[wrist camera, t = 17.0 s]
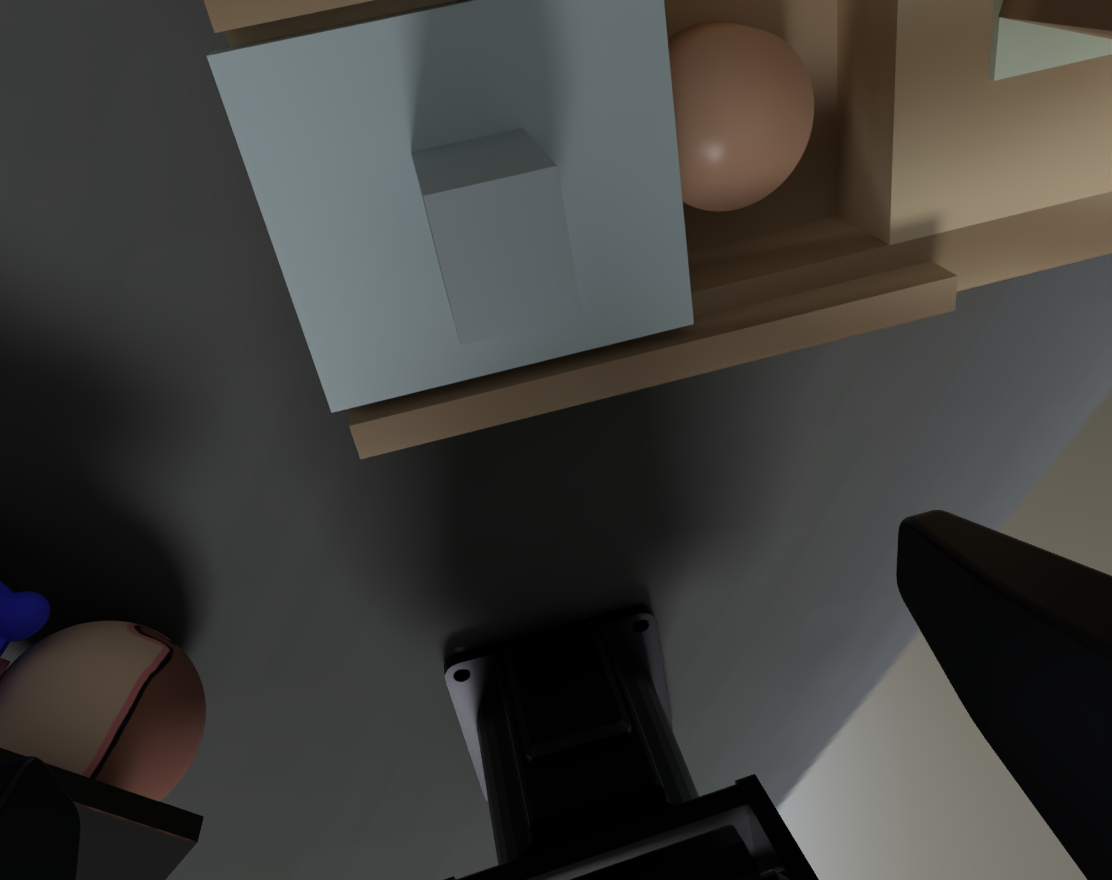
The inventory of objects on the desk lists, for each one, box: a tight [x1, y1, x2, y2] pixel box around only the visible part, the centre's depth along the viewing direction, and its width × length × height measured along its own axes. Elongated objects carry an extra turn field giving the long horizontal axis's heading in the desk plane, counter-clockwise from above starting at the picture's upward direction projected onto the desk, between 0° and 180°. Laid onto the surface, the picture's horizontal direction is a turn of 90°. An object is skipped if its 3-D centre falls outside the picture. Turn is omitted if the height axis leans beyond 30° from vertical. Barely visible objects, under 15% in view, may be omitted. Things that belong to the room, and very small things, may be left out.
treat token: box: [668, 21, 814, 212], centre depth 19 cm, size 4×4×1 cm
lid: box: [207, 0, 694, 413], centre depth 15 cm, size 7×8×4 cm
